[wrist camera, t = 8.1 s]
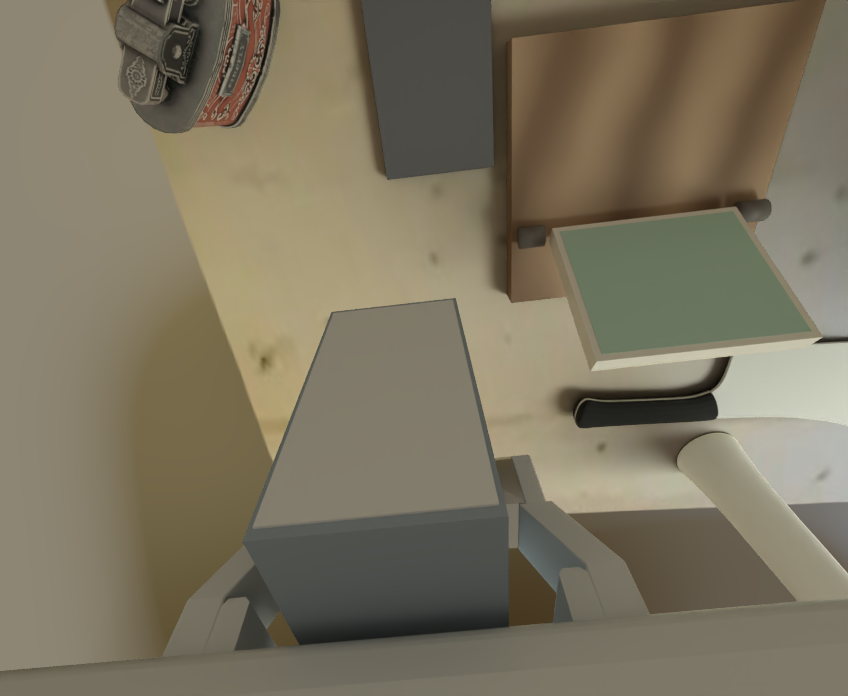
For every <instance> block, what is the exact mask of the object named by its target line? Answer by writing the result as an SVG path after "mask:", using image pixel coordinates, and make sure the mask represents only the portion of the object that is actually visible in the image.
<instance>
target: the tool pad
mask: <svg viewBox="0 0 848 696" xmlns="http://www.w3.org/2000/svg"><path fill="white" fill-rule="evenodd" d="M361 4H362V11H363V18H364V25H365V32H366V39H367V45H368V52H369V59H370V66H371V73H372V80H373V87H374V94H375V100H376V107H377V114H378V121H379V128H380V135H381V142H382V148H383V155H384V162H385V169H386V176H387V180H390V179H398V178H406V177H414V176H423V175H431V174H439V173H447V172H455V171H463V170H471V169H480V168H488V167H494V141H493V87H492V33H491V0H361Z"/></svg>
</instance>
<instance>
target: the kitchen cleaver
mask: <svg viewBox="0 0 848 696" xmlns="http://www.w3.org/2000/svg"><path fill="white" fill-rule="evenodd" d="M573 417H574V420H575V423H576V425H577V426H578V427H579V428H592V427H605V426H621V425H637V424H656V423H677V422H693V421H707V420H714V419H716V418H744V417H791V418H803V419H813V420H821V421H827V422H833V423H838V424H842V425H846V426H848V341H843V342H824V343H813V344H812V345H810V346H809V347H807V348H801V349H791V350H782V351H773V352H764V353H755V354H745V355H736V356H731V357H730V360H729V362H728V365H727V368H726V371H725V373H724V375H723V377H722V379H721V381H720V382H719V384H718V385H717V386H716V387H715V388H713V389H712V390H711V391H708V390H705V391H702V392H699V393H696V394H692V395H686V396H676V397H656V398H631V399H595V398H588V397H584V398H581V399H579V400H578V401H577V402H576V403H575V405H574V408H573Z"/></svg>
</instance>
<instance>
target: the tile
mask: <svg viewBox="0 0 848 696" xmlns="http://www.w3.org/2000/svg"><path fill="white" fill-rule="evenodd" d="M549 243H550V247H551V250H552V253H553V256H554V259H555V262H556V265H557V268H558V272H559V275H560V278H561V281H562V284H563V287H564V290H565V293H566V297H567V300H568V303H569V306H570V309H571V312H572V315H573V318H574V322H575V325H576V328H577V331H578V334H579V337H580V340H581V343H582V347H583V350H584V353H585V356H586V359H587V362H588V365H589V368H590V371H597V370H607V369H616V368H625V367H634V366H644V365H653V364H662V363H671V362H681V361H690V360H699V359H708V358H718V357H727V356H736V355H745V354H755V353H764V352H773V351H782V350H791V349H801V348H807V347H809V346H810V345H812V344H813V343H815V342H816V341H818V340H819V339H821V338H822V337H823V336H822V334H821V333H820V331H819V330H818V328H817V327H816V325H815V324H814V322H813V321H812V319H811V318H810V316H809V315H808V313H807V312H806V310H805V309H804V307H803V306H802V304H801V303H800V301H799V300H798V298H797V297H796V295H795V294H794V292H793V291H792V289H791V288H790V286H789V285H788V283H787V282H786V280H785V279H784V277H783V276H782V274H781V273H780V272H779V270H778V269H777V267H776V266H775V264H774V263H773V261H772V260H771V258H770V257H769V255H768V254H767V252H766V251H765V249H764V248H763V246H762V245H761V243H760V242H759V240H758V239H757V237H756V236H755V234H754V233H753V231H752V230H751V228H750V227H749V225H748V224H747V222H746V221H745V219H744V218H743V216H742V215H741V213H740V212H739V210H738V209H737V207H728V208H719V209H711V210H702V211H694V212H686V213H677V214H669V215H660V216H652V217H643V218H635V219H626V220H618V221H609V222H601V223H592V224H584V225H576V226H567V227H559V228H552V231H551V235H550V239H549Z"/></svg>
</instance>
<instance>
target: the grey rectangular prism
mask: <svg viewBox="0 0 848 696" xmlns="http://www.w3.org/2000/svg"><path fill="white" fill-rule="evenodd" d="M243 544H244V546H245V547H246V549H247V551H248V553H249V555H250V556H251V558H252V560H253V562H254V564H255V565H256V567H257V569H258V571H259V573H260V574H261V576H262V578H263V580H264V582H265V583H266V585H267V587H268V589H269V591H270V592H271V594H272V596H273V598H274V600H275V601H276V603H277V605H278V607H279V609H280V610H281V612H282V614H283V616H284V618H285V620H286V621H287V623H288V625H289V627H290V629H291V630H292V632H293V634H294V636H295V637H296V639H297V641H298V643H299V645H307V644H319V643H330V642H341V641H353V640H364V639H375V638H387V637H398V636H410V635H421V634H432V633H444V632H456V631H467V630H479V629H490V628H502V627H509V516H508V512H507V508H506V504H505V499H504V495H503V491H502V487H501V483H500V479H499V475H498V471H497V467H496V463H495V458H494V454H493V450H492V446H491V442H490V438H489V434H488V430H487V426H486V421H485V417H484V413H483V409H482V405H481V401H480V397H479V393H478V389H477V384H476V380H475V376H474V372H473V368H472V364H471V360H470V356H469V352H468V347H467V343H466V339H465V335H464V331H463V327H462V323H461V319H460V315H459V310H458V306H457V302H456V298H453V299H444V300H435V301H426V302H417V303H408V304H400V305H391V306H382V307H373V308H364V309H355V310H346V311H337V312H332V313H331V315H330V318H329V320H328V323H327V325H326V328H325V331H324V333H323V336H322V338H321V341H320V343H319V346H318V349H317V351H316V354H315V356H314V359H313V362H312V364H311V367H310V369H309V372H308V374H307V377H306V380H305V382H304V385H303V387H302V390H301V392H300V395H299V398H298V400H297V403H296V405H295V408H294V410H293V413H292V416H291V418H290V421H289V423H288V426H287V428H286V431H285V434H284V436H283V439H282V441H281V444H280V446H279V449H278V452H277V454H276V457H275V459H274V462H273V465H272V467H271V470H270V472H269V475H268V477H267V480H266V482H265V485H264V488H263V490H262V493H261V496H260V498H259V501H258V503H257V506H256V509H255V511H254V513H253V516H252V518H251V521H250V524H249V526H248V529H247V531H246V534H245V537H244V539H243Z"/></svg>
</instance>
